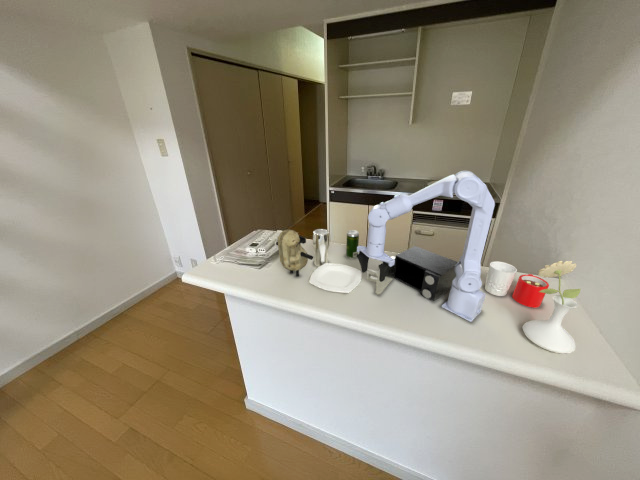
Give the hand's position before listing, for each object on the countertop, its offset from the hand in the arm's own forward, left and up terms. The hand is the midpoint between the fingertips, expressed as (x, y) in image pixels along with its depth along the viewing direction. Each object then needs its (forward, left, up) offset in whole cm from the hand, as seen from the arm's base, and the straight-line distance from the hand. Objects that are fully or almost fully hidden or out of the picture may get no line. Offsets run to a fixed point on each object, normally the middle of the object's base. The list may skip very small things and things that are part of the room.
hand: (373, 275), depth 91 cm
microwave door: (+1, -5, -6) cm, 8 cm away
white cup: (-29, -35, -7) cm, 45 cm away
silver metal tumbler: (+27, +1, -7) cm, 28 cm away
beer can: (+23, -14, -7) cm, 28 cm away
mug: (-37, -39, -7) cm, 54 cm away
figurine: (+27, +15, -7) cm, 32 cm away
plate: (+13, +5, -7) cm, 16 cm away
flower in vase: (-46, -19, -7) cm, 50 cm away
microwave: (-9, -18, -6) cm, 21 cm away
